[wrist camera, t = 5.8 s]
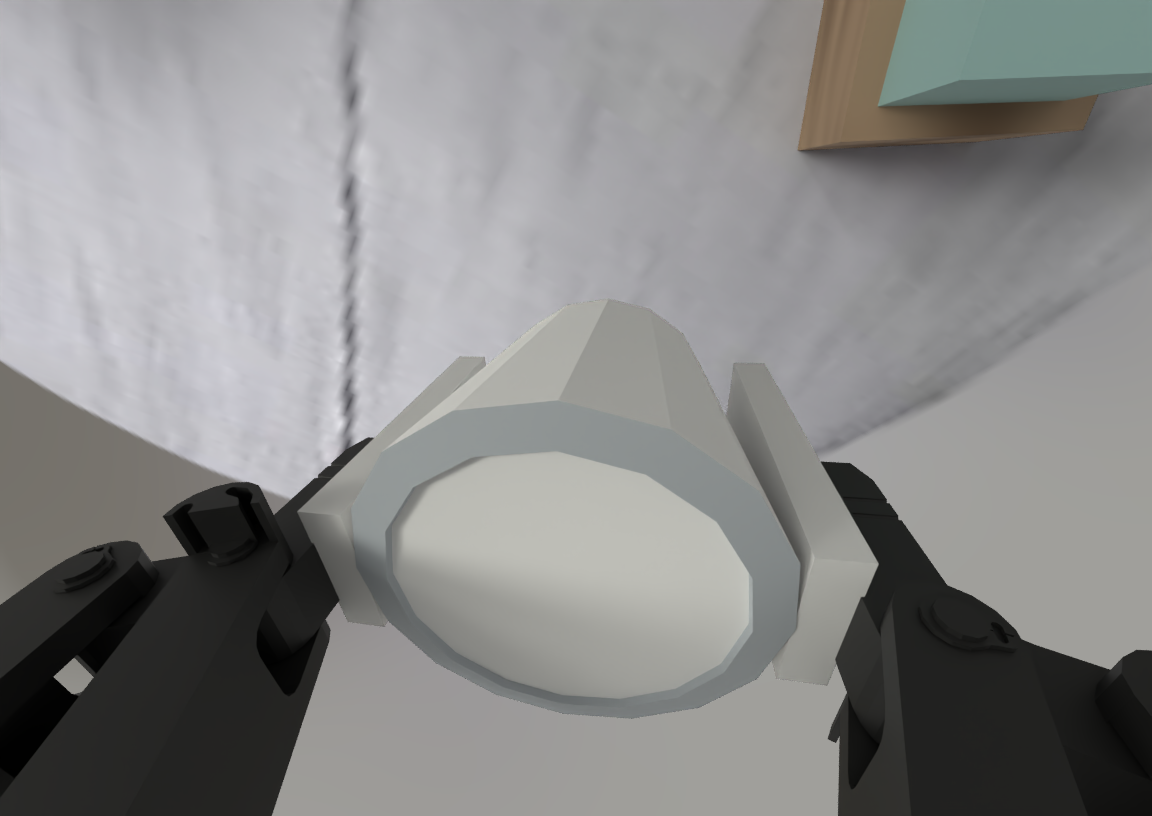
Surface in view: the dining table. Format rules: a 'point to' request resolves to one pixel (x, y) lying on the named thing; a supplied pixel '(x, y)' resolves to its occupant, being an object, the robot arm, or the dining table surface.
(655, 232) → the dining table surface
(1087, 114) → the bottom block
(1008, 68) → the top block
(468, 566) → the shot glass
